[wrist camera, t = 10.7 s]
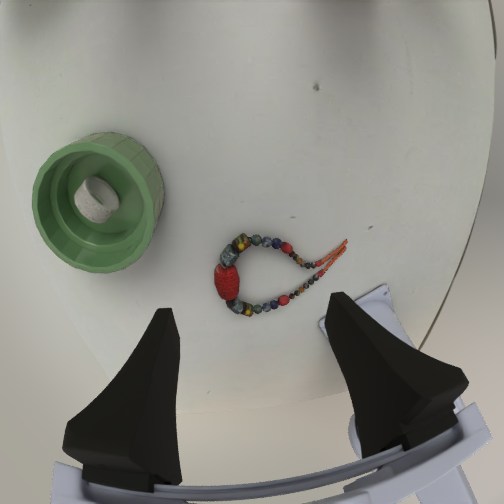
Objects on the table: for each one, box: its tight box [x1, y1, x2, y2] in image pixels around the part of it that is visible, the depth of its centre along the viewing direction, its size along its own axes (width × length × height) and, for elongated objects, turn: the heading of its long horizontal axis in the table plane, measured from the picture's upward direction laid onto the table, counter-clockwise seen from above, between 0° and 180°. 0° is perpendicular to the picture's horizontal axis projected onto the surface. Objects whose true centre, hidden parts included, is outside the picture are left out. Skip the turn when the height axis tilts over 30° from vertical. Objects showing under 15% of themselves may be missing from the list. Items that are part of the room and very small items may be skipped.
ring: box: [74, 175, 120, 224], centre depth 15 cm, size 3×1×3 cm, turn 38°
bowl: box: [32, 132, 164, 273], centre depth 15 cm, size 8×8×4 cm
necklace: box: [214, 233, 348, 317], centre depth 22 cm, size 8×11×2 cm
